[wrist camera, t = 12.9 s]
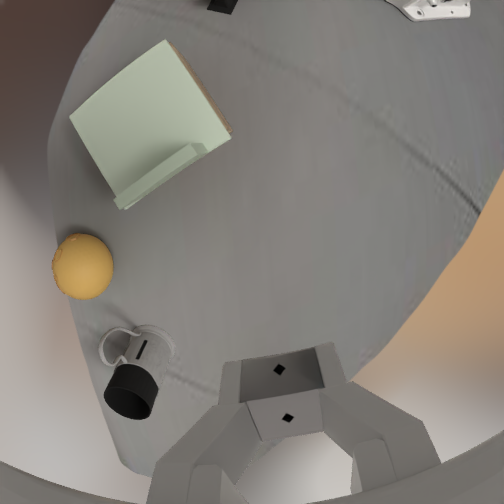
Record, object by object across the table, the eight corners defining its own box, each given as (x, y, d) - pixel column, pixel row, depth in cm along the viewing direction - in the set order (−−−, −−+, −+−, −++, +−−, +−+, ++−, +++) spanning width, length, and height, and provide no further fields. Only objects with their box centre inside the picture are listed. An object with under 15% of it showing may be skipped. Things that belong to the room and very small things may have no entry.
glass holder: (142, 364, 53) (118, 422, 39) (109, 303, 48) (70, 355, 34) (182, 359, 52) (165, 421, 38) (151, 293, 47) (117, 350, 33)
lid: (167, 41, 26) (146, 19, 20) (231, 138, 31) (225, 137, 24) (73, 117, 29) (37, 116, 22) (128, 208, 33) (100, 225, 27)
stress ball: (130, 246, 45) (88, 214, 37) (121, 306, 40) (72, 280, 32) (88, 257, 48) (49, 229, 39) (79, 310, 43) (33, 288, 34)
